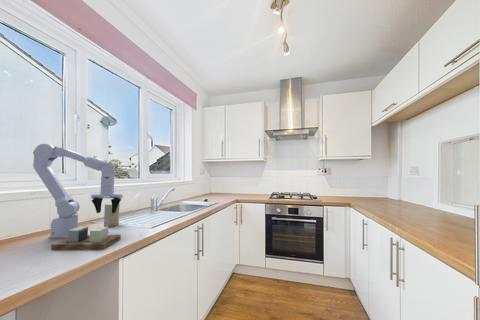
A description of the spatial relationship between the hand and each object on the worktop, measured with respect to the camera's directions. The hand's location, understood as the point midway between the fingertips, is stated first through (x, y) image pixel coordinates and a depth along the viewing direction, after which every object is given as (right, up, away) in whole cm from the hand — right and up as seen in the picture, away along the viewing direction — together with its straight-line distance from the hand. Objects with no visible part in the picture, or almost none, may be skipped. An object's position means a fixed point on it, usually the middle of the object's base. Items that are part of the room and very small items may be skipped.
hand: (106, 212), depth 104 cm
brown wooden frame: (+5, -9, -18) cm, 21 cm away
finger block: (+9, -9, -18) cm, 22 cm away
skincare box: (-4, -10, +11) cm, 16 cm away
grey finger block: (0, -8, -19) cm, 20 cm away
